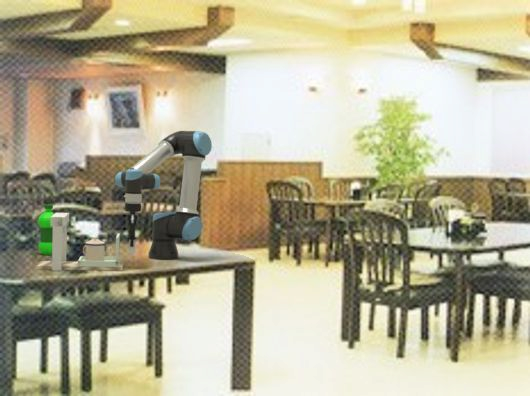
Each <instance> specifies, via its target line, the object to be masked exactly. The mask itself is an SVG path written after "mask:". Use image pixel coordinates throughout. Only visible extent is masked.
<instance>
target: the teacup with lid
mask: <svg viewBox="0 0 530 396" xmlns="http://www.w3.org/2000/svg"><path fill="white" fill-rule="evenodd" d="M105 245H106V243H105V241H103V240H101V239H99V238H98V236H93V238H92V239H90V240H88V241H86V242H85V243H84V246H83V247H82V253H83V254H84V255H83V256H85V261H104V256H105V250H106V249H105Z"/></svg>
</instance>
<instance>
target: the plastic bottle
mask: <svg viewBox="0 0 530 396" xmlns="http://www.w3.org/2000/svg"><path fill="white" fill-rule="evenodd" d="M44 209H45V210H44V212H43V213H41V215H40V216H39V217H38V219H37V224H38V226H39V227H40V230H39V231H40V234H39V235H40V236H39V238H40V240H39V243H38V245H37V248H38V251H39V252H40V253H41V254H42V255H44V256H52V243H53V226H51V216H53V215H54V214H55V213H54V212H53V209H54V204H44Z"/></svg>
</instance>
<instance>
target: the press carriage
mask: <svg viewBox="0 0 530 396" xmlns="http://www.w3.org/2000/svg"><path fill="white" fill-rule="evenodd" d="M120 246H121V233H120V232H119V233H118V232H117V233H116V237H115V256H104V261H85V255H80V256H79V258H78V260H77V261H78V266H84V267H118V265H119V262H120V249H121V247H120Z"/></svg>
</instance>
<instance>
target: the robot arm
mask: <svg viewBox="0 0 530 396" xmlns="http://www.w3.org/2000/svg"><path fill="white" fill-rule="evenodd" d="M211 151H212V139H211V137H210V135H209V134H208V133H206V132H205V131H200V130H199V131H198V130H178V131H175V132H172V133H171V134H169V135H168V136H165V137H164V138H163V139H161V140H160V141H159V142H158V144H157V146H156V147H154V149H152V150H151V151H150V152H149V153H147V154H146V155H145V156H144V157H143V158H141V159H140V160H139V161H138V162H136V163H135V164H134V165H132V166H131V167H130V168H129V169H127V170H126V171H119V172H118V173H117V174H116V176H115V177H114V178H115V184H116V186H117V187H118V188H123V189H125V195H123V197H124V201H125V203H124V211H125V212H130V213H129V215H128V225H129V236H128V238H127V240H128V254H131V255H135V253H136V248H135V247H136V240H137V237H136V226H137V220H138V215H137V214H136V213H138V212H141V211H142V203H143V202H142V201H143V199H142V198H143V197H142V196H143V194H142V192H143V190H144V191H145V190H147V191H148V190H150V191H154V190H157V189H158V188H160V185H161V178H160V176H159V175H158V174H156V173H152V171H153V170H154V169H156V168H157V167H158V166H160V164H162V163H163V162H165V161H166V160H167V159H170V158H173V156H176V155H180V154H181V157H182V159H183V160H184V162H183V163H184V165H183V171H182V182H181V191H180V199H179V207H178V209H176V210H175V211H167V212H157V213H156V212H155V213H154V214H153V216H152V238H151V239H152V241H151V245H150V247H149V251H148V256H147V257H148V258H149V259H152V258H155V260H172V259H171V258H177V259H179V250H178V246H177V244H176V239H177V240H178V239H179V240H185V241H186V240H187V241H189V240H190V241H192V240H193V241H194V240H195V239H197V238H198V237H199V236H200V235H201V233H202V231H203V222H202V219H201V218H200V217H199V215H200V213H199V212H198V210H197V207H198V198H199V190H200V182H201V181H200V180H201V173H202V164H203V162H204V161H205V160H206V157H207V156H208V155H210V152H211Z"/></svg>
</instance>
